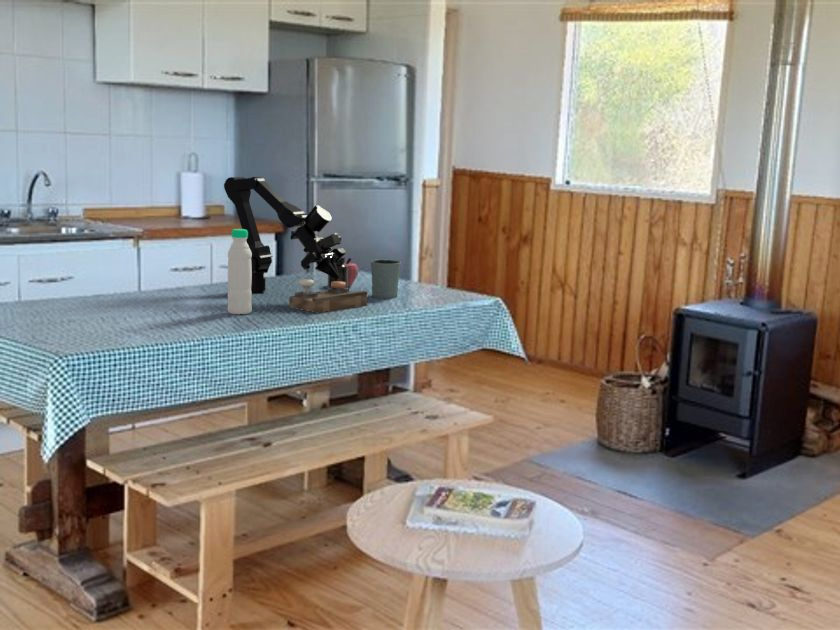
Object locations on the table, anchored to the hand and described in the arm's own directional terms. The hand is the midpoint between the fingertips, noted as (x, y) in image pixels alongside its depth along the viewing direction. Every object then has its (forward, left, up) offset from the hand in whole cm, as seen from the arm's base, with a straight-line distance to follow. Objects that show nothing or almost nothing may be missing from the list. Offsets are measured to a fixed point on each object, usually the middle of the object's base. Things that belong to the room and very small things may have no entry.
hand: (338, 278), depth 315 cm
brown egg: (0, 0, -7) cm, 7 cm away
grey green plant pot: (+16, +14, -8) cm, 23 cm away
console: (-3, -7, -8) cm, 11 cm away
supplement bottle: (0, +22, -8) cm, 24 cm away
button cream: (-10, -10, -5) cm, 15 cm away
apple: (+3, +34, -8) cm, 35 cm away
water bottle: (-29, -21, -8) cm, 37 cm away
